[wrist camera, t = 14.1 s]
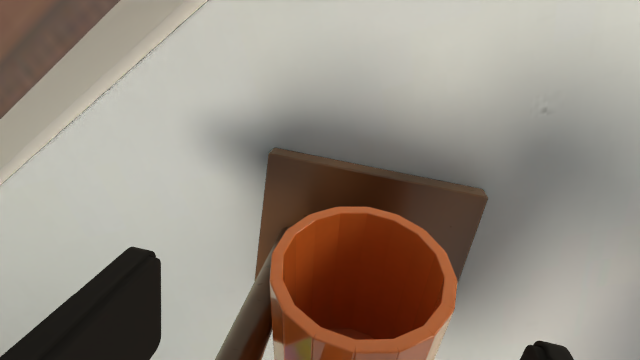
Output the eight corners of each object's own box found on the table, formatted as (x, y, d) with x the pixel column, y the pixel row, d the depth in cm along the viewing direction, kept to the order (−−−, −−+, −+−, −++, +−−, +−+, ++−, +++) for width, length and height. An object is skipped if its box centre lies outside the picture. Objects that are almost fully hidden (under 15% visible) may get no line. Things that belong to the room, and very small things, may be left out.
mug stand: (483, 188, 21) (669, 491, 7) (435, 327, 25) (497, 698, 11) (274, 146, 22) (91, 343, 8) (258, 286, 26) (114, 580, 12)
